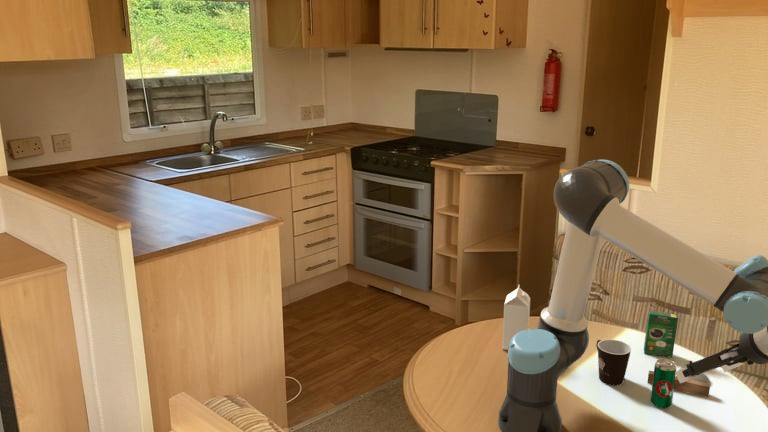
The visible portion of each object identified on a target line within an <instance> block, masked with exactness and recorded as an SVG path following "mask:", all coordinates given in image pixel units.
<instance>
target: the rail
mask: <svg viewBox="0 0 768 432" xmlns="http://www.w3.org/2000/svg"><path fill="white" fill-rule="evenodd" d="M653 375H654V370H648V375H647V384H650V385H652V384H653ZM710 388H711V383H709V382H708V383H703V382H699V381H694V380H688V381H686V382H683V383H680V382H679V380H678V378H677V376H675V384H674V390H675V391H679V392H683V393H687V394H690V395H691V394H692V395H696V396H700V395H701V397H704V396H706V397H705V398H709V395H710V390H711V389H710Z"/></svg>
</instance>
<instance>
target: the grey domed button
mask: <svg viewBox="0 0 768 432" xmlns="http://www.w3.org/2000/svg"><path fill="white" fill-rule="evenodd" d="M690 380H694V381H699V382H703V383H708V384H709V381H710V380H709V377H708V376H707V375H706V374H705V373H701V375H699V376H697V377H695V378H692V379H690Z"/></svg>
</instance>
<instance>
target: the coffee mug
mask: <svg viewBox="0 0 768 432" xmlns="http://www.w3.org/2000/svg"><path fill="white" fill-rule="evenodd" d="M596 350H597V358H598V359H597V360H598V361H597V362H598V364H597V365H598V379H599V380H600V382H602V383H603V384H605V385H608V386H614V387H615V386H620V385H622V384H624V381H625V376H626V371H627V368H628V364H629V360H630V356H631V351H632V346H630V345H629V344H628V343H626V342H624V341H621V340H618V339H610V338H609V339H598V340H597V341H596Z"/></svg>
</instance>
